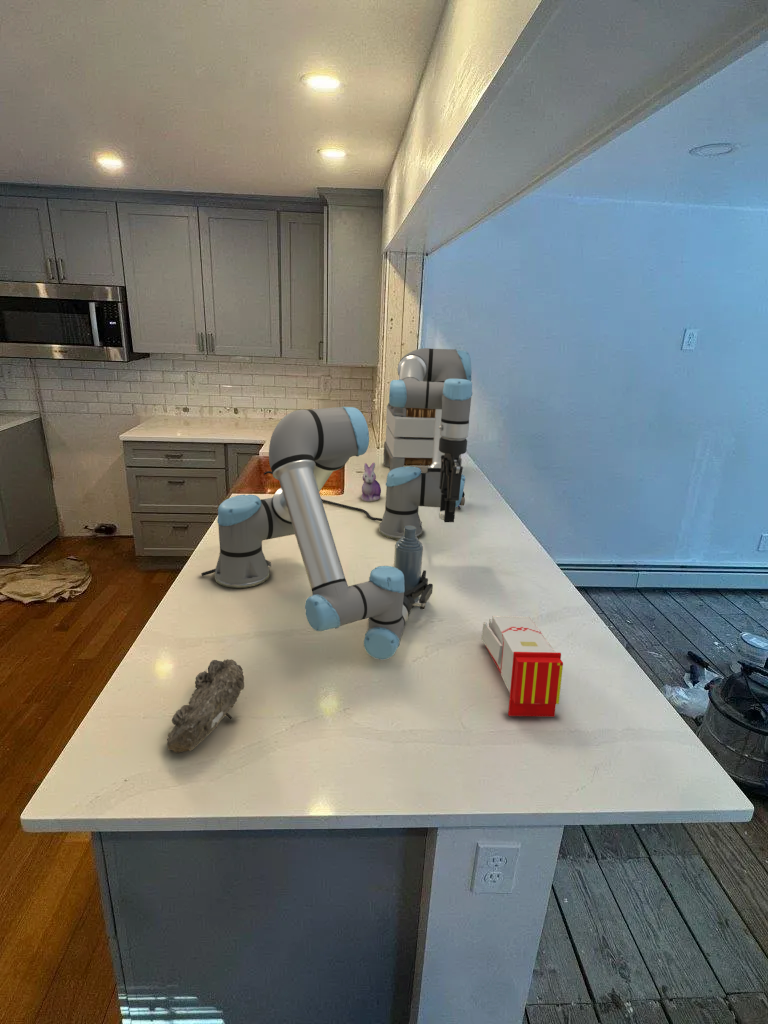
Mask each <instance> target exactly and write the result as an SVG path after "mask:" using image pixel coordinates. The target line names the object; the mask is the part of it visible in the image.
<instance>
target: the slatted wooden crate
mask: <svg viewBox="0 0 768 1024" xmlns="http://www.w3.org/2000/svg"><path fill="white" fill-rule="evenodd" d="M435 411H436V409H425V408H400V407H393V406H391V405H390V404H389V402H388V404H387V405H386V413H385V414H386V415H385V423H386V428H385V438H384V442H383V466H384V467H388V468H389V472H390V471H391V470H393V469H395V468H399V467H405V466H406V467H407V466H412V467H417V466H418V467H429V466H430V465H431V464H432V459H433V443H434V427H435ZM459 460H460V466H462V461H463V460H462V454H461V455H459Z"/></svg>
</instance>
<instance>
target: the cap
mask: <svg viewBox="0 0 768 1024" xmlns="http://www.w3.org/2000/svg"><path fill="white" fill-rule="evenodd" d="M438 515H439V516H438V518H439V520H440V521H444V515H445V510H444V511H440V510H439V514H438ZM455 517H456V516H455ZM455 517H454V520H455Z"/></svg>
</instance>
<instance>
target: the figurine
mask: <svg viewBox="0 0 768 1024" xmlns="http://www.w3.org/2000/svg"><path fill="white" fill-rule="evenodd" d="M363 468H364V470H363V471H364V472H363V474H362V481H363V483H362V485H361V496H360V498H361V500H362V501H364V502H373V501H377V500H380V499H381V495H382V487H381V484H380V482H379V481H378V480H376V479H377V476H376V473H375V468H376V462H372V463H371V465H370V466H369V464H367V462H365V463H364V464H363Z"/></svg>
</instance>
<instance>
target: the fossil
mask: <svg viewBox="0 0 768 1024" xmlns="http://www.w3.org/2000/svg"><path fill="white" fill-rule="evenodd" d="M243 670H244V669H243V667H242V665H240V664H237V662H236V661H235V660H234V659H232V658H231V659H227V658H226V659H224V660H223V661H222V660H217V659H212V660H211V661H210V663H209V665H208V666H207V671H201V672H199V673H198V674H197V675H196V676H195V680H194V684H195V685H194V687H195V689H194V690H193V693H192V694H191V697H190V698H189V700H188V704H184V705H182V706H181V707H180V709H177V710H176V711H175V713H174V715H173V716H172V718H171V723H172V724H173V727H172V730H171V731H170V732H168V734H167V738H166V741H167V742H166V745H167V749H168V750H169V751H173V752H174V753H176V754H178V753H182V752H188V751H189V752H192V751H193V750H195V748H196V747H197V746H199V744H200V743H201V742H203V741H204V740H205V739H206V738H207V737H208V736H209V735H210V734H211V733H212V732H214V730H215V729H217V727H218V726H219V724H220V722H221V721H222V720H223V719H224V718H225V716H226V717H227V719H229V720H233V717H232V715H230V714H229V710H230V709H231V708H234V706H235V704H236V703H237V702H238V699H239V697H240V695H241V693H242V691H243V690H245V689H244V688H245V675H244V671H243Z"/></svg>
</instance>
